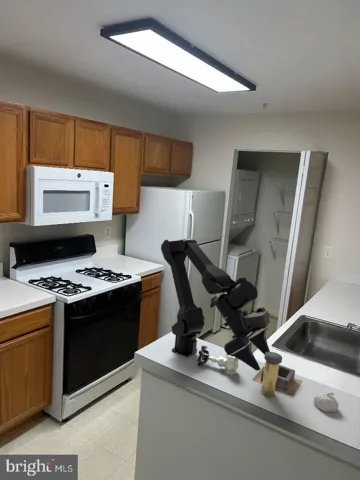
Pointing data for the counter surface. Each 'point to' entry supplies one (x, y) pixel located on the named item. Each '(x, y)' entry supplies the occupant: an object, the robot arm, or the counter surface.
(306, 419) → the counter surface
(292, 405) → the counter surface
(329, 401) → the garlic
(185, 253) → the robot arm
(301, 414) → the counter surface
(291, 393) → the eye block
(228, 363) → the valve
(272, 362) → the grey-topped tan cylinder
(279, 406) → the counter surface
